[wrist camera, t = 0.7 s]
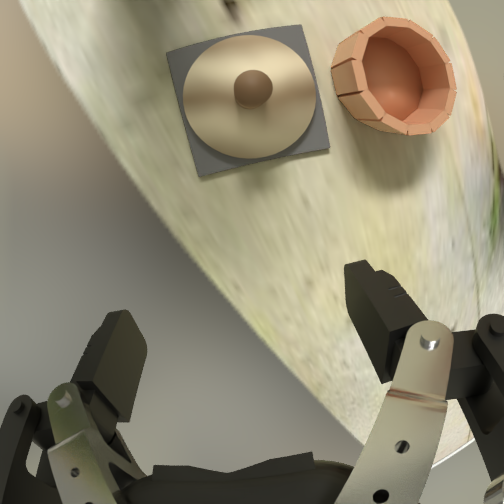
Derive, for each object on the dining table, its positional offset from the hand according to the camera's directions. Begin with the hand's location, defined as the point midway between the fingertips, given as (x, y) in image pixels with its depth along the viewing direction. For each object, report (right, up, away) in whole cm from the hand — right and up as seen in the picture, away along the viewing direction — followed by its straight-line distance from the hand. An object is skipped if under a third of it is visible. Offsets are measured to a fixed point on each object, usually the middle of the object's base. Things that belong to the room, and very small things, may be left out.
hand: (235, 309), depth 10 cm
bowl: (+15, +21, +15) cm, 30 cm away
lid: (0, +17, +16) cm, 24 cm away
